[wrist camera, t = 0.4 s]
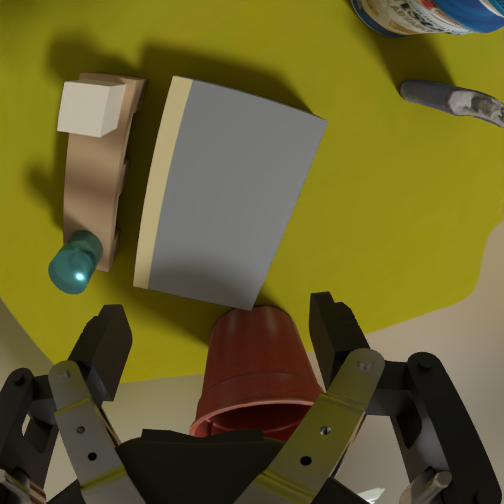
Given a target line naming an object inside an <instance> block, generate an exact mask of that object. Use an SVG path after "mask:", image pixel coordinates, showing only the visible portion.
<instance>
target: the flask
mask: <svg viewBox="0 0 504 504" xmlns="http://www.w3.org/2000/svg"><path fill="white" fill-rule="evenodd" d="M400 87H401V88H400V96H401V97H402V98H403V99H404V100H406V101H409V102H414V103H418V104H421V105H425V106H429V107H432V108H436V109H439V110H442V111H445V112H447V113H450V114H452V115H455V116H473V117H476V118H479V119H482V120H485V121H487V122H490V123H493V124H495V125H497V126H499V127H502V128H504V104H503V103H502V102H500V101H499V100H498V99H496V98H494V97H492V96H490V95H488V94H485V93H482V92H479V91H475V90H471V89H465V88H461V87H456V86H452V85H447V84H442V83H437V82H431V81H423V80H422V81H421V80H408V81H404V82H402V84H401V85H400Z"/></svg>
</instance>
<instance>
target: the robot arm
mask: <svg viewBox="0 0 504 504" xmlns="http://www.w3.org/2000/svg"><path fill="white" fill-rule="evenodd" d="M309 332H310V337H311V341H312V344H313V347H314V351H315V354H316V358H317V361H318V364H319V368H320V371H321V374H322V378H323V382H324V385H325V389H326V393H323V392H322V393H321V394H320V395H319V396H318V397H317V399H316V400H315V402H314V403H313V405H312V407H311V408H310V410H309V411H308V412H307V414H306V415H305V417H304V418H303V420H302V421H301V423H300V424H299V426H298V427H297V428H296V430H295V431H294V433H293V434H292V436H291V437H290V438H289V440H288V441H287V442H284V441H281V440H278V439H274V438H270V437H264V436H263V428H262V429H248V430H231V431H227V432H223V433H219V434H215V435H210V436H206V437H195V436H191V435H186V434H182V433H178V432H174V431H171V430H152V429H143V430H142V435H141V437H139V438H135V439H131V440H128V441H126V442H124V443H121V441H120V440H119V438H118V436H117V434H116V433H115V431H114V429H113V427H112V425H111V423H110V421H109V419H108V417H107V415H106V413H105V411H104V409H103V408H102V402H103V401H113V400H114V397H115V394H116V391H117V387H118V384H119V381H120V378H121V375H122V372H123V369H124V366H125V363H126V360H127V358H128V355H129V352H130V349H131V346H132V332H131V329H130V327H129V324H128V321H127V318H126V315H125V312H124V309H123V307H122V305H120V304H114V305H104V306H103V308H102V309H101V311H100V313H99V315H98V316H94V317H93V318H92V319H91V320H90V321H89V322H88V323H87V324H86V326H85V328H84V330H83V333H81V335H80V337H79V339H78V341H77V343H76V344H75V346H74V348H73V350H72V352H71V354H70V356H69V358H68V360H66V361H61V362H59V363H57V364H56V365H54V366H53V367H52V368H51V370H50V371H49V374H48V375H42V376H37V377H34V376H33V374H32V372H31V371H30V370H29V369H27V368H19V369H16V370H15V371H13V372H12V373H11V374H10V375H9V376H8V378H7V380H6V382H5V384H4V386H3V388H2V390H1V392H0V504H370V503H369V502H367V501H366V500H364V499H363V498H361V497H360V496H358V495H357V494H355V493H354V492H352V491H351V490H350V489H348V488H347V487H346V486H344V485H343V484H341V483H340V482H339V481H337V480H336V479H335V477H336V475H337V473H338V472H339V470H340V468H341V466H342V465H343V463H344V461H345V459H346V457H347V455H348V453H349V451H350V449H351V447H352V445H353V443H354V441H355V439H356V437H357V435H358V433H359V431H360V429H361V427H362V425H363V423H364V421H365V419H366V417H367V415H381V416H390V419H391V422H392V425H393V428H394V431H395V434H396V438H397V441H398V444H399V447H400V450H401V454H402V457H403V461H404V464H405V468H406V470H407V474H408V478H409V481H410V485H409V486H408V487H407V488H406V489H405V490H404V491H403V493H402V494H401V496H400V500H399V504H500V503H501V500H502V492H501V489H500V486H499V483H498V481H497V478H496V475H495V473H494V470H493V468H492V466H491V463H490V461H489V458H488V456H487V454H486V451H485V449H484V447H483V444H482V442H481V440H480V438H479V435H478V433H477V431H476V429H475V427H474V425H473V423H472V420H471V418H470V416H469V414H468V412H467V410H466V408H465V406H464V404H463V402H462V400H461V398H460V397H459V394H458V392H457V391H456V389H455V387H454V385H453V383H452V381H451V379H450V377H449V376H448V374H447V372H446V370H445V368H444V367H443V365H442V363H441V362H440V360H439V359H438V358H437V357H436V356H435V355H433V354H430V353H427V352H417V353H414V354H412V355H411V356H410V357H409V358H408V361H407V362H392V361H387V360H384V358H383V357H382V355H381V354H380V353H378V352H377V351H375V350H372V349H370V347H369V345H368V343H367V340H366V339H365V336H364V334H363V332H362V330H361V328H360V326H359V325H358V322H357V320H356V319H355V316H354V314H353V313H352V311H351V309H350V308H349V307H348V306H347V305H345V304H344V303H343V302H338V303H334V300H333V298H332V296H331V294H330V292H329V291H328V292H318V293H311V296H310V312H309ZM27 414H28V415H29V417H30V421H29V423H28V426H27V429H26V432H25V434H24V436H23V434H22V425H23V422H24V420H25V417H26V415H27ZM59 431H60V434H61V437H62V440H63V443H64V445H65V448H66V451H67V454H68V456H69V458H70V461H71V463H72V466H73V469H74V471H75V473H76V475H77V478H78V479H76V480H75V481H74V482H73V483H71V484H70V485H69V486H68V487H66V488H65V489H64V490H63V491H61V492H60V493H59V494H57V495H56V496H55V497H54V498H52V499H51V500H50V501H49V502H46V495H45V492H44V491H43V488H44V483H45V479H46V475H47V471H48V467H49V464H50V460H51V456H52V453H53V449H54V445H55V442H56V438H57V435H58V432H59Z"/></svg>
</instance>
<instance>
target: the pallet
mask: <svg viewBox="0 0 504 504" xmlns="http://www.w3.org/2000/svg"><path fill="white" fill-rule="evenodd" d="M82 79H89V80H98V81H107V82H114V83H121V84H126V88H125V92H124V96H123V101H122V105H121V110H120V115H119V120H118V125H117V128H116V129H114V130H113V131H111V132H109V133H107V134H105V135H104V136H102V137H100V138H99V137H93V136H88V135H81V134H75V133H69V140H68V149H67V159H66V171H65V186H64V212H63V242H64V244H65V242H66V241H67V240H68V239H69V237H70V236H71V235H72V234H73V233H74V232H75V231H78V230H86V231H89V232H91V233H93V234H94V235H96V236H97V237H98V238H99V240H100V241H101V243H102V246H103V256H102V258H101V260H100V262H99V263H98V265H97V267H96V269H98V270H101V271H105V272H109V270H110V268H111V266H112V264H113V262H114V260H115V258H116V256H117V254H118V250H119V239H120V229H116V228H115V225H116V215H117V206H118V198H119V195H120V194H121V193H122V192H123V191H124V189H125V188H126V183H127V177H128V171H129V165H130V159H127V158H125V153H126V147H127V142H128V137H129V132H130V127H131V122H132V117H133V113H135V112H138V111H140V110H141V106H142V102H143V98H144V94H145V90H146V86H147V82H148V79H143V78H137V77H131V76H124V75H117V74H109V73H100V72H89V73H80V75H79V80H82Z"/></svg>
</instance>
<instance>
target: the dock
mask: <svg viewBox="0 0 504 504" xmlns="http://www.w3.org/2000/svg"><path fill="white" fill-rule="evenodd" d="M327 123H328V121H327V120H325V119H323V118H321V117H319V116H317V115H315V114H313V113H310V112H307V111H304V110H302V109H299V108H296V107H293V106H290V105H287V104H284V103H281V102H278V101H275V100H272V99H269V98H266V97H263V96H259V95H256V94H253V93H249V92H246V91H242V90H239V89H235V88H232V87H228V86H224V85H220V84H216V83H212V82H208V81H204V80H200V79H195V78H191V77H186V76H173V78H172V82H171V85H170V89H169V93H168V96H167V100H166V104H165V108H164V112H163V116H162V120H161V124H160V128H159V132H158V136H157V141H156V145H155V150H154V154H153V159H152V164H151V169H150V174H149V179H148V184H147V190H146V195H145V201H144V207H143V213H142V220H141V226H140V233H139V240H138V248H137V256H136V264H135V273H134V282H133V286H135V287H139V288H144V289H151V290H155V291H159V292H163V293H168V294H172V295H177V296H181V297H186V298H190V299H195V300H200V301H204V302H209V303H214V304H219V305H224V306H229V307H234V308H239V309H244V310H249V311H251V310H252V308H253V305H254V303H255V301H256V298H257V296H258V294H259V291H260V289H261V287H262V284H263V282H264V279H265V277H266V275H267V272H268V270H269V267H270V265H271V263H272V260H273V258H274V255H275V253H276V251H277V248H278V246H279V243H280V241H281V238H282V236H283V234H284V231H285V229H286V226H287V224H288V221H289V219H290V216H291V214H292V212H293V209H294V207H295V204H296V202H297V199H298V197H299V194H300V192H301V189H302V187H303V184H304V182H305V179H306V177H307V174H308V172H309V169H310V167H311V164H312V161H313V159H314V156H315V154H316V151H317V149H318V146H319V144H320V141H321V139H322V136H323V133H324V131H325V128H326V126H327Z"/></svg>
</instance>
